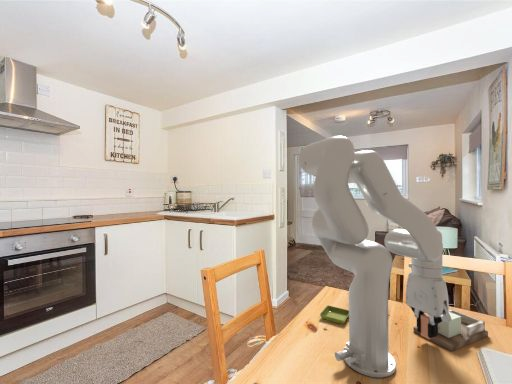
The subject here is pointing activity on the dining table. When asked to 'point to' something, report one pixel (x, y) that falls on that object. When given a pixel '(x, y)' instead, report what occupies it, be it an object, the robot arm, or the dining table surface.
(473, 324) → the shelf
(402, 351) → the dining table surface
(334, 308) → the green tray
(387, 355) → the robot arm
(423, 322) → the joined block piece
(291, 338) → the dining table surface
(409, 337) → the dining table surface
